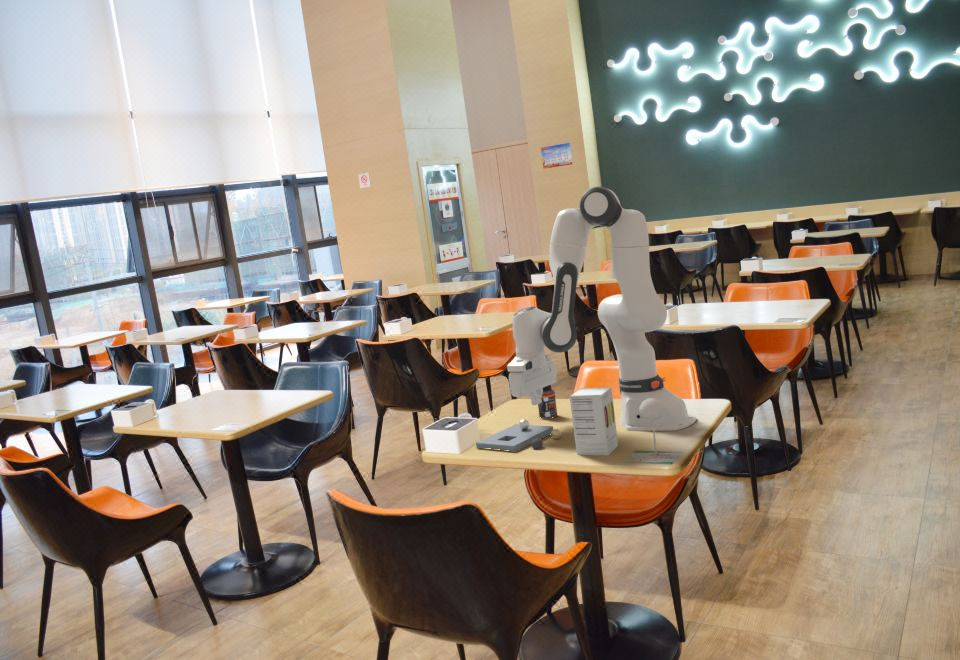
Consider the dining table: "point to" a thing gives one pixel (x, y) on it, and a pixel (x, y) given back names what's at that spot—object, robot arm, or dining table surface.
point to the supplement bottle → (547, 403)
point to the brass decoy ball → (556, 434)
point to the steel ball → (524, 424)
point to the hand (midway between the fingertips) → (536, 404)
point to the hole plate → (515, 437)
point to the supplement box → (594, 421)
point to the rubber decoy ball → (537, 444)
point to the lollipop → (651, 413)
